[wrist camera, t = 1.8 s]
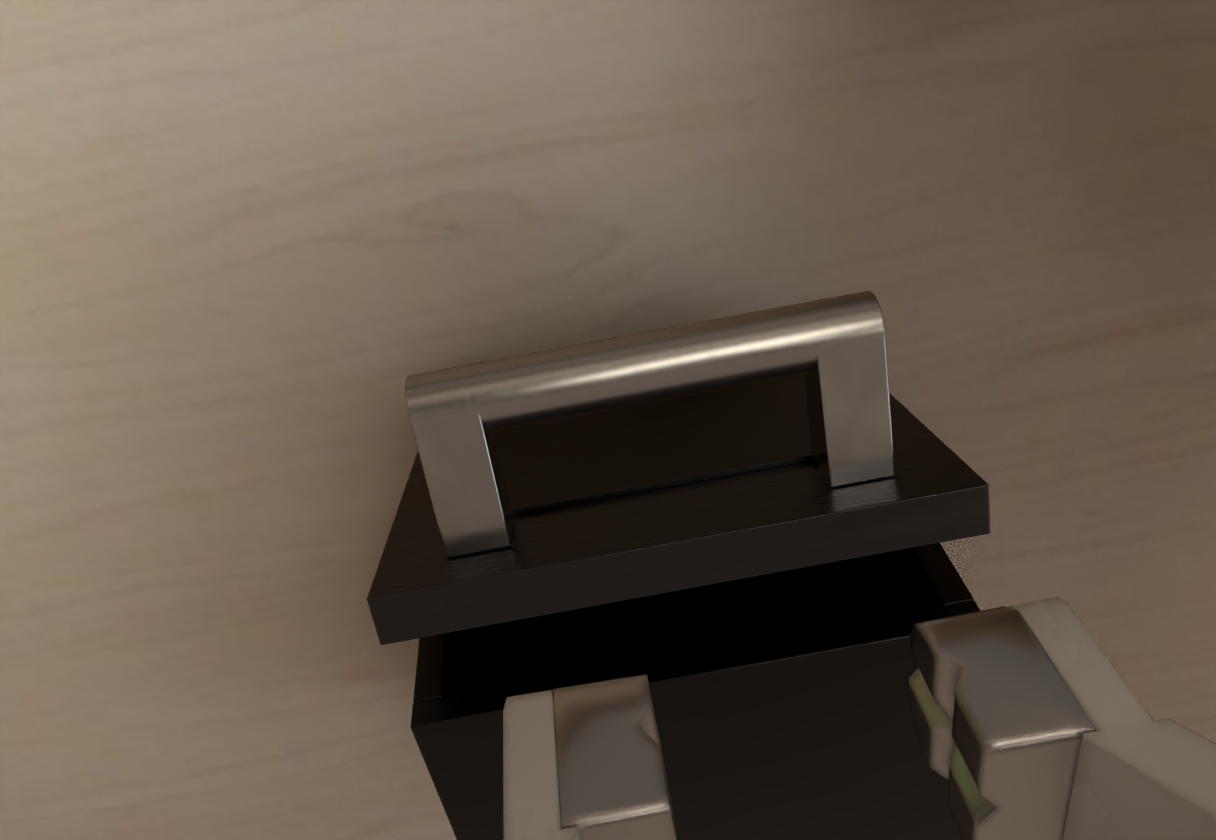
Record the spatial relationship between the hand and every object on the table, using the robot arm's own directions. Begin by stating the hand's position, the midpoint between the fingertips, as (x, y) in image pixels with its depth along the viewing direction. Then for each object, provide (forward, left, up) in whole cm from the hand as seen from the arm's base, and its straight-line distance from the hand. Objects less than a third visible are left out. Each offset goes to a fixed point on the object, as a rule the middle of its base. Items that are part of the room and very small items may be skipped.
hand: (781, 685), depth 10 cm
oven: (+13, +17, -27) cm, 35 cm away
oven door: (+7, +8, -28) cm, 30 cm away
